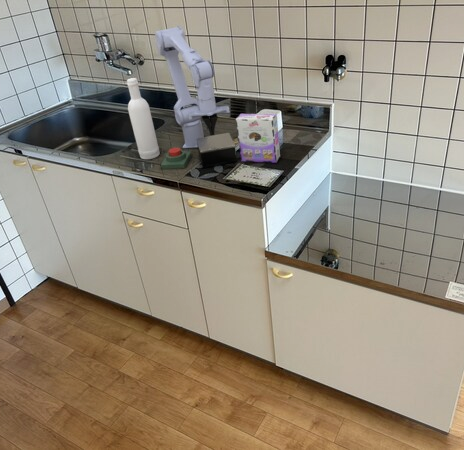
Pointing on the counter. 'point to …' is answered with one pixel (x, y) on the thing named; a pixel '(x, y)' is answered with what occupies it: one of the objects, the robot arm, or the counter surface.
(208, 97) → the robot arm
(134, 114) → the bottle
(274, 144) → the candy box
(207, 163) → the black boxy piece
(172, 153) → the timer button
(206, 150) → the canister lid
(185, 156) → the green base
